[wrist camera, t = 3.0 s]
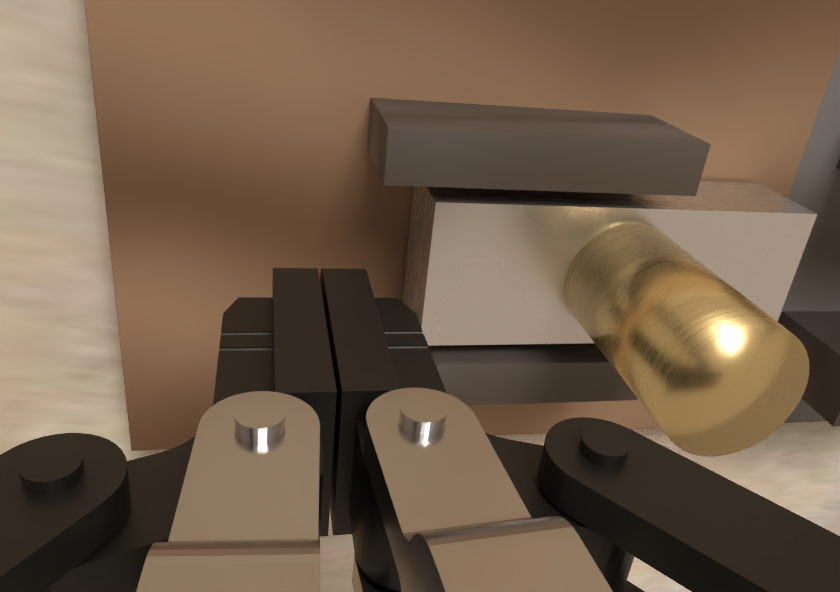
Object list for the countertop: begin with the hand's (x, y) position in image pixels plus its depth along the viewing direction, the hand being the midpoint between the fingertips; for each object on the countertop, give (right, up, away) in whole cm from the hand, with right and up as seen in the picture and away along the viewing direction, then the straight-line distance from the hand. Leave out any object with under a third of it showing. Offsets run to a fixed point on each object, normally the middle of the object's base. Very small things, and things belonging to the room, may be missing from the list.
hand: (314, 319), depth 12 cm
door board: (+6, +2, +6) cm, 9 cm away
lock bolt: (+5, +2, +4) cm, 7 cm away
